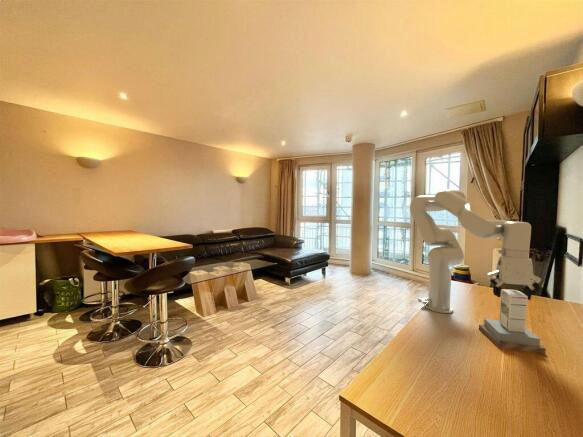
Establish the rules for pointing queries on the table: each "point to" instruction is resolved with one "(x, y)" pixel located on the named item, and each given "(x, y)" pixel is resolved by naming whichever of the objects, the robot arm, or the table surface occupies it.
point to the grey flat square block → (511, 345)
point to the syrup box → (513, 310)
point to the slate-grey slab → (511, 334)
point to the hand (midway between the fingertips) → (511, 297)
